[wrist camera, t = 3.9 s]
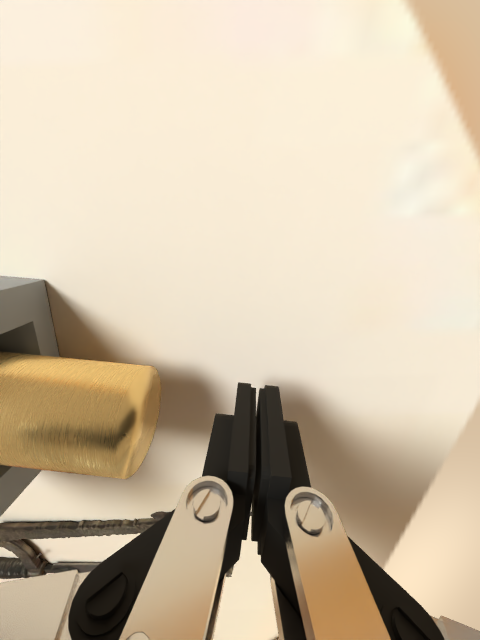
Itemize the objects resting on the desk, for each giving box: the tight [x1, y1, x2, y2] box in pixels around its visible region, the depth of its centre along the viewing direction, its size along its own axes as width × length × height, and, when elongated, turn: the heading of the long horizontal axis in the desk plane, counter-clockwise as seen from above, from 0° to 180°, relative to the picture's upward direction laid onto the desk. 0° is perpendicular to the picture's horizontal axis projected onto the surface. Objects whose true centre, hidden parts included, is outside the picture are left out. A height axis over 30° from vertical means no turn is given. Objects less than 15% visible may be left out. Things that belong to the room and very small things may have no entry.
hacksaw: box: [0, 512, 252, 579], centre depth 17 cm, size 24×10×2 cm, turn 94°
